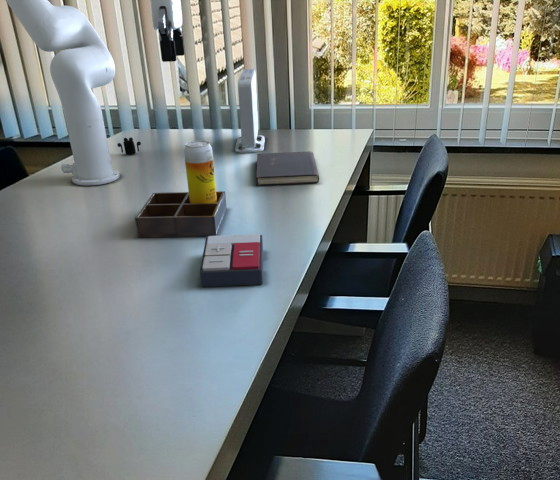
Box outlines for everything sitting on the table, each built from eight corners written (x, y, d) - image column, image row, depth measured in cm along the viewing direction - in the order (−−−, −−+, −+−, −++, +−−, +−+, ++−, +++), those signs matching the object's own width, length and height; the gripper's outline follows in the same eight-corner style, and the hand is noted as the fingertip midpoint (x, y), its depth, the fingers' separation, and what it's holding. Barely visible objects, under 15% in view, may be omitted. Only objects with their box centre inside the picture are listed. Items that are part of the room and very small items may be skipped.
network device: (262, 154, 184) (259, 81, 173) (233, 155, 184) (227, 82, 173) (265, 134, 205) (262, 68, 194) (239, 135, 205) (234, 69, 194)
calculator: (198, 268, 108) (205, 232, 120) (201, 290, 111) (207, 253, 123) (261, 266, 108) (262, 230, 120) (263, 287, 110) (263, 250, 123)
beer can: (213, 217, 138) (206, 147, 129) (187, 216, 139) (179, 146, 130) (221, 207, 142) (214, 140, 134) (196, 207, 144) (188, 139, 135)
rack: (138, 237, 132) (134, 218, 129) (155, 210, 146) (153, 192, 143) (216, 236, 130) (214, 216, 128) (226, 209, 144) (225, 191, 142)
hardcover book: (256, 186, 159) (256, 177, 157) (257, 161, 178) (257, 153, 176) (319, 183, 158) (319, 174, 157) (313, 159, 178) (313, 151, 176)
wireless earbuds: (142, 153, 191) (139, 136, 188) (142, 155, 189) (139, 137, 186) (119, 154, 190) (116, 137, 188) (118, 156, 188) (115, 139, 185)
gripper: (154, -32, 138) (165, 54, 148) (135, -31, 124) (148, 64, 134) (187, -33, 138) (196, 53, 147) (172, -32, 124) (183, 63, 133)
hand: (173, 58), depth 140 cm, fingers open, 9 cm apart
